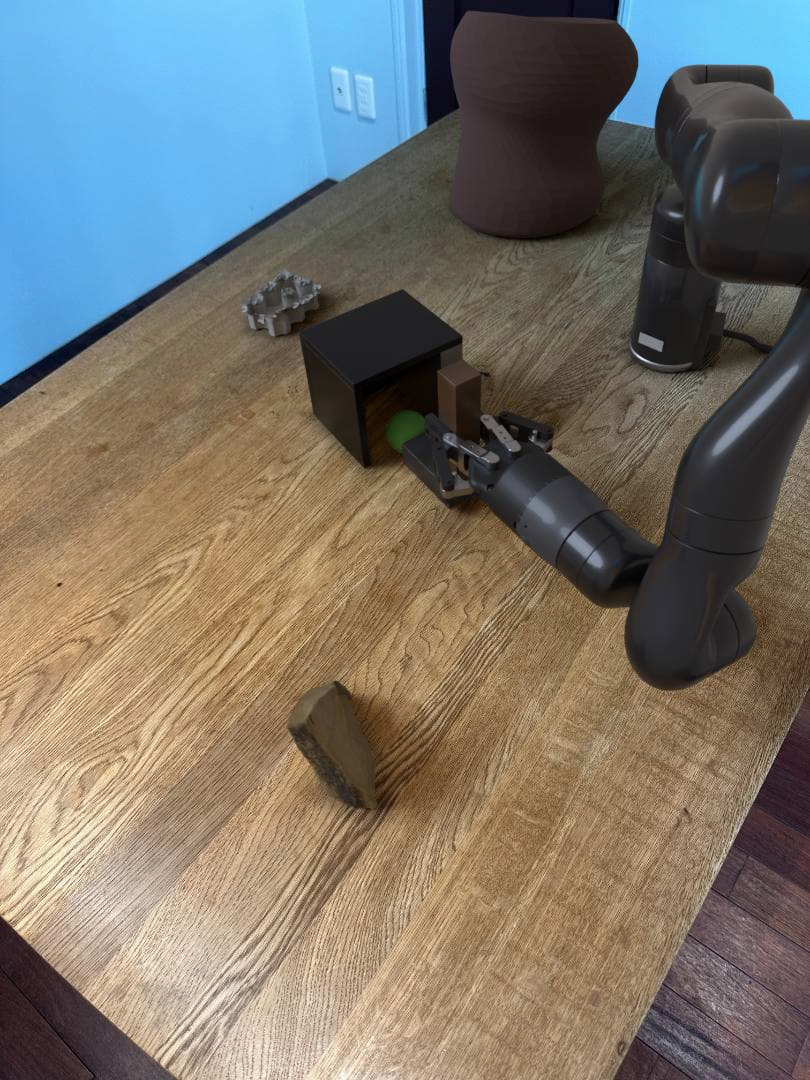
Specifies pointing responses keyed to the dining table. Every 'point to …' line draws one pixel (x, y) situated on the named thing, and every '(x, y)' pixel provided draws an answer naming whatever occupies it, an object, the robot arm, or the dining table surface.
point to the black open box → (375, 363)
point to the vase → (534, 118)
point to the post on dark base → (449, 423)
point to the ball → (404, 428)
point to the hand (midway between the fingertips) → (442, 414)
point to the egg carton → (281, 303)
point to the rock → (334, 744)
